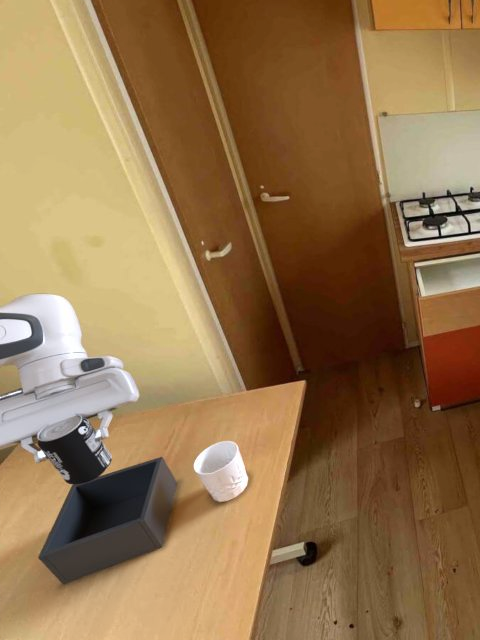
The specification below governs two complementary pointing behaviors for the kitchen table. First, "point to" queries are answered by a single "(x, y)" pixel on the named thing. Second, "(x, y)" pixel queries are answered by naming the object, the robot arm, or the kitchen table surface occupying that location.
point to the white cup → (222, 470)
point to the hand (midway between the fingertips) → (74, 449)
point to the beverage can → (74, 449)
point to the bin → (110, 520)
